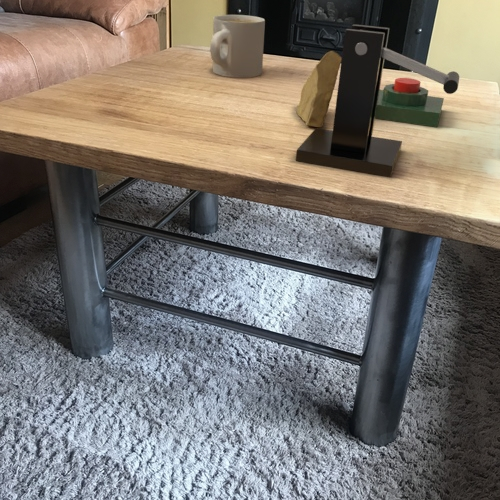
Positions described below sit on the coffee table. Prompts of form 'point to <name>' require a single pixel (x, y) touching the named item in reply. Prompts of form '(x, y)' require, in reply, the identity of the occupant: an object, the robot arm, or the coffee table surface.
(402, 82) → the button
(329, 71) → the rock
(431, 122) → the block
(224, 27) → the coffee mug
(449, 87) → the knife lever
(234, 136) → the coffee table surface
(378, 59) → the cutter
